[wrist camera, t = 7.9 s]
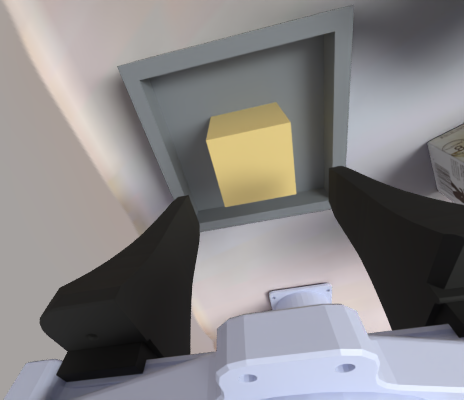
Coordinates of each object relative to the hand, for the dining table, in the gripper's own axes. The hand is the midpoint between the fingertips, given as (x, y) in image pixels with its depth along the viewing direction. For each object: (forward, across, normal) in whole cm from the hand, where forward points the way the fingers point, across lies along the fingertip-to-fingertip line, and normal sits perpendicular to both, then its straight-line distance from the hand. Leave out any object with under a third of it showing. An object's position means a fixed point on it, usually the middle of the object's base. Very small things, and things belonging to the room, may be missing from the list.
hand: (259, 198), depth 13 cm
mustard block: (+8, 0, 0) cm, 9 cm away
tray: (+9, 0, 0) cm, 9 cm away
